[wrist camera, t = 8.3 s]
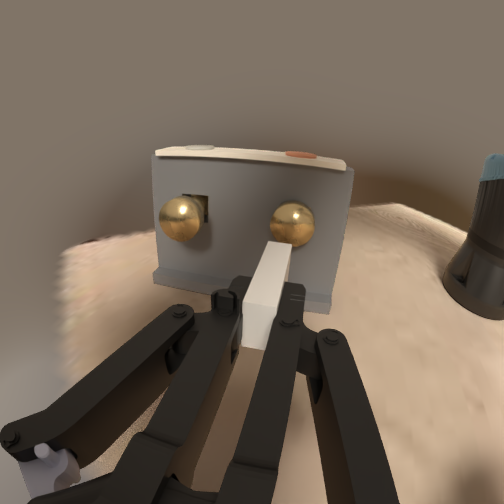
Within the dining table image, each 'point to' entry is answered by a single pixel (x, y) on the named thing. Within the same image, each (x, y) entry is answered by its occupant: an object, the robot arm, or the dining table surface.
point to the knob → (183, 216)
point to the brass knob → (293, 223)
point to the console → (250, 216)
